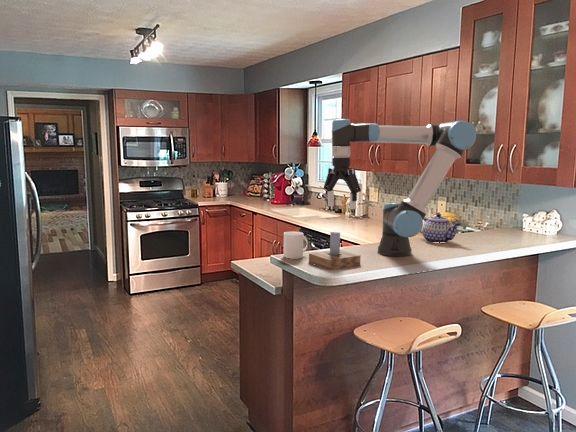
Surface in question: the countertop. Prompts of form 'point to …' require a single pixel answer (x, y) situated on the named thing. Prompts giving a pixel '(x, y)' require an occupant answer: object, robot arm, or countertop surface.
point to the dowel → (334, 243)
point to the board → (334, 259)
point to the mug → (294, 245)
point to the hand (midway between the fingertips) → (341, 207)
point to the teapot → (438, 229)
